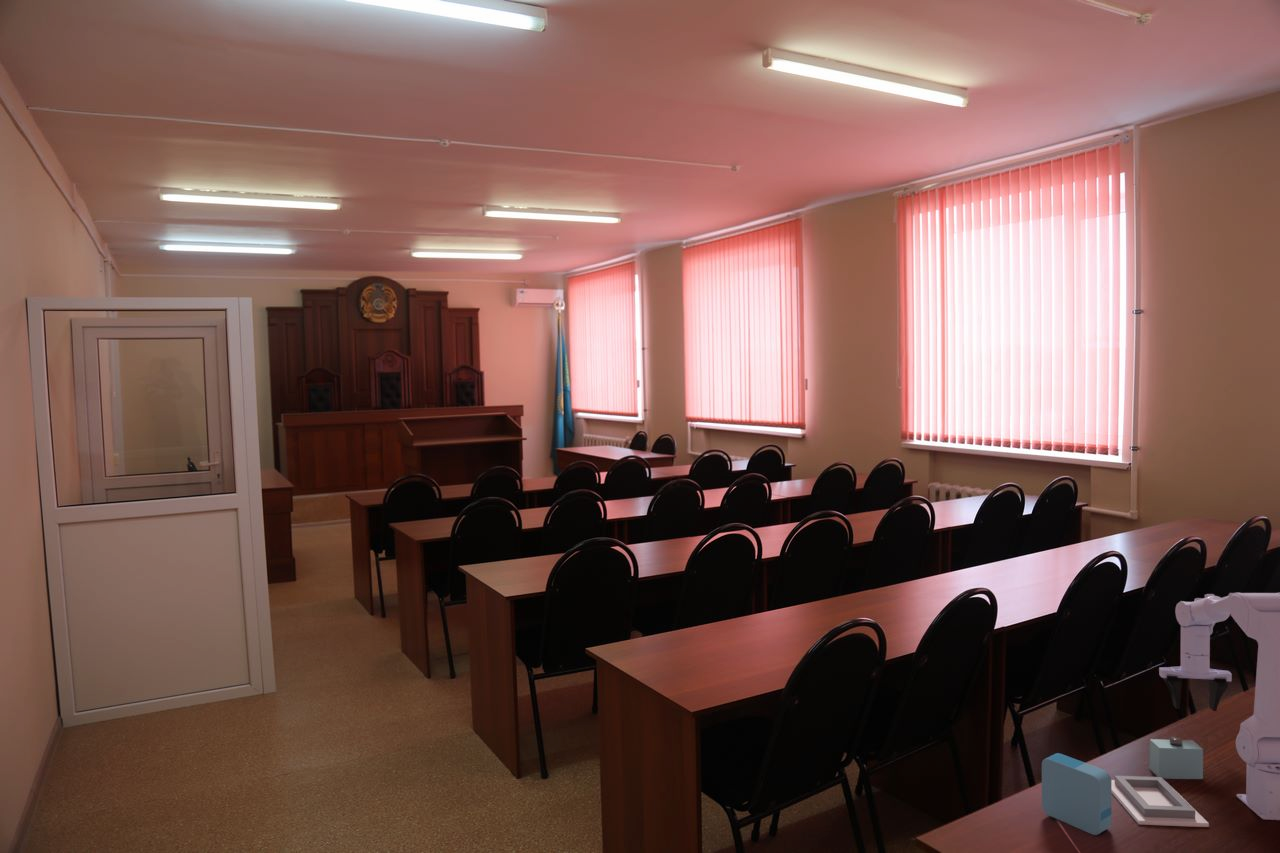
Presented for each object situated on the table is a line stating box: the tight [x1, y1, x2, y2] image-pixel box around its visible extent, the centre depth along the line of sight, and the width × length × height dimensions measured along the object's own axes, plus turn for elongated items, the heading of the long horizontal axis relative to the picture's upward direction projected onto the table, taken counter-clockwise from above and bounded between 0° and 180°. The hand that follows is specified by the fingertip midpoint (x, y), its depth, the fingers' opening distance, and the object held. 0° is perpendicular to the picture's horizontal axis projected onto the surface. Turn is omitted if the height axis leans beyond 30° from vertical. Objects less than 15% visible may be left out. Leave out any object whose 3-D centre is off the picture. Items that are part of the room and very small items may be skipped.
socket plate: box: [1111, 775, 1210, 828], centre depth 174 cm, size 17×13×2 cm
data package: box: [1041, 752, 1112, 836], centre depth 168 cm, size 12×4×12 cm, turn 33°
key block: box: [1149, 736, 1204, 780], centre depth 186 cm, size 4×9×8 cm, turn 82°
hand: (1194, 708), depth 197 cm, fingers open, 7 cm apart
